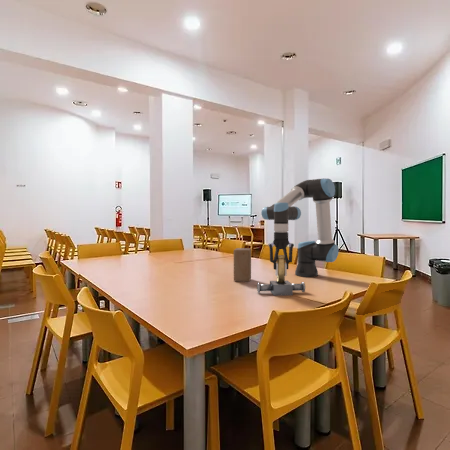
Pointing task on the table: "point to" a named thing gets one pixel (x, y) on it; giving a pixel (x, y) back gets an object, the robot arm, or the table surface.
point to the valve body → (281, 288)
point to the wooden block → (242, 264)
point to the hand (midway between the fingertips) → (280, 275)
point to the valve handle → (281, 268)
